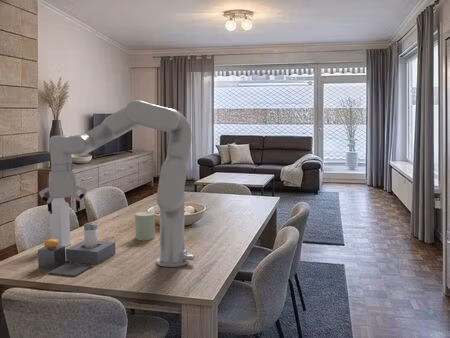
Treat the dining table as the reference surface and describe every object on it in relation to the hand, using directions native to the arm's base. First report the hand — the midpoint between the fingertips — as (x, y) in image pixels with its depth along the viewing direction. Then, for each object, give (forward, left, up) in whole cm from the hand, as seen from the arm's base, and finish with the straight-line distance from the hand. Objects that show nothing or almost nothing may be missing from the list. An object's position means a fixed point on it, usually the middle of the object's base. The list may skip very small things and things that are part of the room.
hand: (64, 211), depth 176 cm
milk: (+16, -20, -21) cm, 33 cm away
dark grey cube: (+3, +4, -20) cm, 21 cm away
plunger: (+3, +4, -19) cm, 20 cm away
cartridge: (-6, -9, -20) cm, 23 cm away
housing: (-6, -9, -20) cm, 23 cm away
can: (-14, -43, -21) cm, 49 cm away
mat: (-7, +7, -20) cm, 23 cm away
